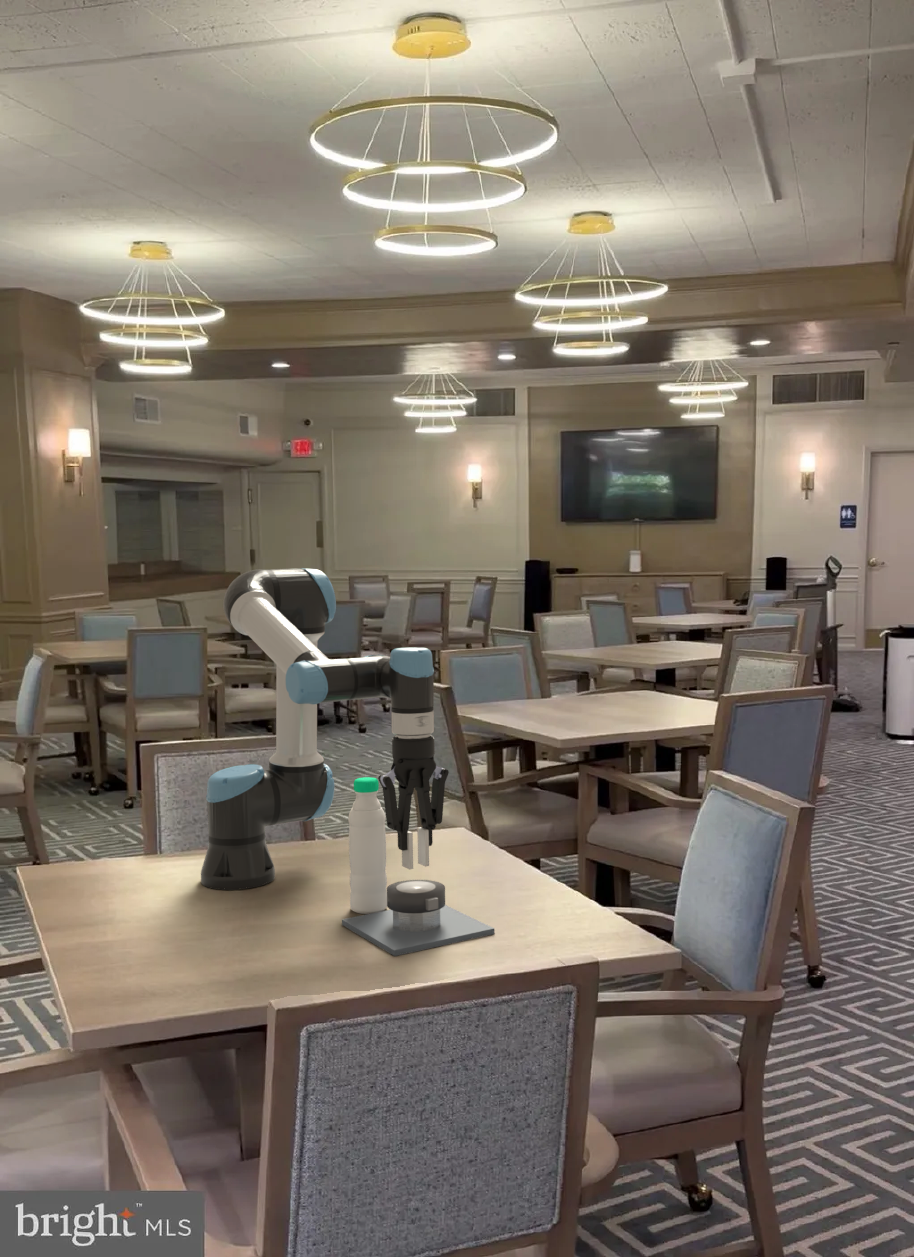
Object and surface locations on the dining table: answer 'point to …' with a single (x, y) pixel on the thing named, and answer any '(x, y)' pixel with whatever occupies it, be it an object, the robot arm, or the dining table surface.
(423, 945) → the slate board
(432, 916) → the grey hollow ring
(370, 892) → the water bottle
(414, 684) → the robot arm
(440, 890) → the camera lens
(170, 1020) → the dining table surface
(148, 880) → the dining table surface
